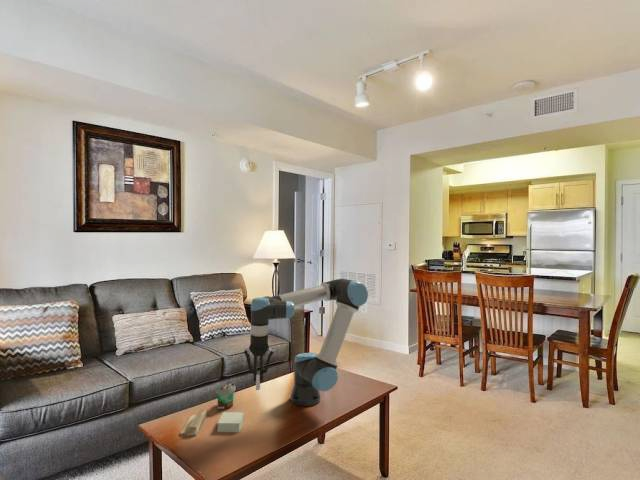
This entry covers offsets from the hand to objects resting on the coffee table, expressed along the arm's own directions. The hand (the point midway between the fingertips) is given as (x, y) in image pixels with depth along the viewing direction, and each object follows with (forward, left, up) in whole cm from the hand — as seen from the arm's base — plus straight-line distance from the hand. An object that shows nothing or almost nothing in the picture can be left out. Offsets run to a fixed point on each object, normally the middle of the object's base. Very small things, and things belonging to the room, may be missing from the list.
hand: (257, 388), depth 165 cm
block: (+11, 0, -17) cm, 20 cm away
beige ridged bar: (+27, 0, -16) cm, 32 cm away
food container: (+16, -19, -16) cm, 30 cm away
